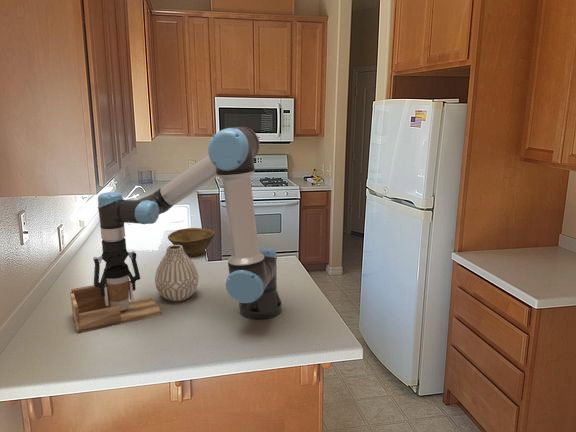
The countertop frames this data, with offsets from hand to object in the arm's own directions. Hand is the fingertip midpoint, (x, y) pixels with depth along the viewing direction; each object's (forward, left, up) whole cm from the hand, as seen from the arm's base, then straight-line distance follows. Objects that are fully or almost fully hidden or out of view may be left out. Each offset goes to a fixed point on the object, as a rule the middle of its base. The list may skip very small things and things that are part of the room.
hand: (119, 301), depth 161 cm
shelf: (0, +1, -5) cm, 5 cm away
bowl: (+53, -44, -5) cm, 69 cm away
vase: (+5, -22, -5) cm, 23 cm away
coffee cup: (0, 0, -2) cm, 2 cm away
